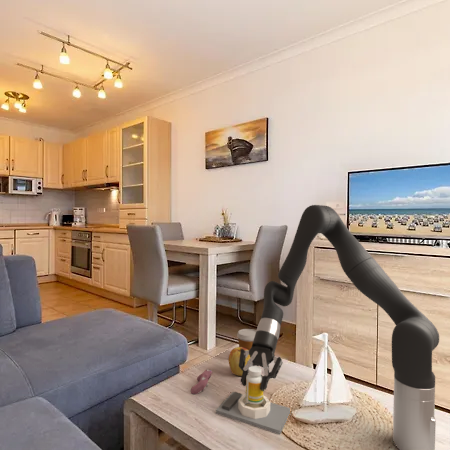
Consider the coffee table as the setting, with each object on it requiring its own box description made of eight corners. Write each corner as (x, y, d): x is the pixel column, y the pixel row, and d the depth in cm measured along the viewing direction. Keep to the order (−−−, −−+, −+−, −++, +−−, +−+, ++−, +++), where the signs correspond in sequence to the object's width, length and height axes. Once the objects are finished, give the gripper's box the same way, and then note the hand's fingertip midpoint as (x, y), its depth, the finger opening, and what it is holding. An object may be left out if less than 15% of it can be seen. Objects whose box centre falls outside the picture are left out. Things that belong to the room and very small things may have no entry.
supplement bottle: (242, 397, 99) (242, 367, 99) (256, 393, 101) (257, 363, 101) (252, 406, 94) (252, 374, 94) (266, 402, 97) (267, 370, 96)
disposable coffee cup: (258, 367, 128) (259, 337, 128) (235, 365, 130) (235, 335, 130) (259, 357, 138) (260, 329, 138) (237, 355, 139) (238, 327, 139)
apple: (252, 369, 126) (253, 344, 126) (251, 380, 117) (251, 353, 117) (229, 367, 127) (230, 342, 127) (226, 378, 118) (227, 351, 118)
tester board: (291, 411, 98) (292, 400, 98) (279, 434, 88) (280, 421, 88) (233, 394, 107) (233, 384, 107) (215, 413, 97) (216, 401, 97)
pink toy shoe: (200, 400, 106) (210, 382, 106) (188, 393, 107) (198, 375, 106) (207, 385, 116) (216, 369, 115) (196, 378, 117) (205, 362, 116)
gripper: (244, 326, 107) (227, 376, 97) (285, 333, 101) (272, 389, 90) (249, 336, 112) (234, 386, 102) (290, 344, 105) (278, 398, 95)
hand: (252, 387), depth 96 cm, fingers closed on supplement bottle, 5 cm apart
